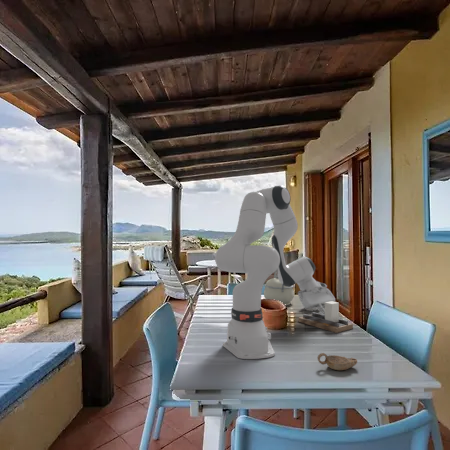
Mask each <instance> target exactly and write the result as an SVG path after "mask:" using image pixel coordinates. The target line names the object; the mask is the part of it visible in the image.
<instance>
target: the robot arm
mask: <svg viewBox="0 0 450 450" xmlns="http://www.w3.org/2000/svg"><path fill="white" fill-rule="evenodd" d="M267 214H269V216H270V220H271V223H272V226H273V234H272V236H271V245H272V247H271V246H268V245H258V244H255V245H253V244H252V243H254V242H256V241H258V240H260V239H261V238H262V237H263V236H264V234H265V227H266V221H267V220H266V219H267ZM297 230H298V220H297V217H296V214H295V213H294V211H293V208H292V206H291V194H290V192H289V190H288V188H286V187H285V186H284V185H274V187H273V186H272V187H267V188H263V189H259V190H257V191H251V192H248V193H247V194H245V196H244V198H243V201H242V203H241V206H240V209H239V215H238V222H237V226H236V230H235V232H234V234H233V236H232V237H231V238H229V240H228V241H227V242H226V243H225V244H223V245H221V246H220V247H219V248H218V249H217V251H216V252H215V256H214V261H215V265H216V267H217V268H218V269H219V271H223V272H228V273H237V274H238V273H239V274H240V273H241V274H247V277H246V279H245V280H243V281H241V282H239V283H237V284H236V285H235V286H234V287H233V289H232V307H231V311H230V313H231V315H230V316H231V320H230V321H229V322H228V323H227V331H226V332H227V333H226V340H225V341H224V342H223V343H222V346H223V348H225V349H226V350H227V351H229V352H230V353H231V354H233V355H234V356H235V357H236V358H238V359H241V360H242V359H244V360H258V359H259V360H260V359H266V358H272V357H274V356H276V352H275V350H274V348H273V346H272V343H271V341H270V340H271V339H272V334H271V332H267V331H268V327H267V326H265V321H264V320H263V310H262V308H261V307H262V305H261V304H262V293H263V292H262V291H263V287H264V285H265V282H267V280H268V278H269V277H270V276H271V275H272V274H274V272H275V271H276V270H277V273H276V275H277V274H278V279H279V281H280V283H281V284H282V285H284V286H287V287H291V286H292V285H293V286H294V285H296V284H297V286H298V288H299V291H298V292H297V295H298V297H299V301H300V302H301V304H302V306H303V308H304V309H305V310H306V309H310V308H315V307H317V308H318V309H317V310H319V311H320V312H322V314H323V315H325V302H330V301H333V302H336V298H335V296H334V294H333V293H332V291H331V290H330V289H329V288H327V287H328V285H327V284H326V283H323V282H320V281H318V280H316V279H315V278H314V277H313V275H314V274H315V271H316V265H315V263H314V262H313V260H312V259H311V258H309V257H307V256H302V257H299V258H297V259H296V260H295V259H294V260H293V261H291V262H290V263H287V262H286V259H285V253H284V249H285V246H286V245H287V243H288V242H289V241H290V240H291V239H292V238H293V237H294V236H295V235H296V233H297Z"/></svg>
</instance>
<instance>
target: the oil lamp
mask: <svg viewBox="0 0 450 450" xmlns="http://www.w3.org/2000/svg"><path fill="white" fill-rule="evenodd" d="M323 356H324V357H325V358H324V359H325V360H324V361H323V360H321V358H322V357H323ZM317 361H318V363H319V364H321V365H327V366H328V368H330V369H332V370H335V371H345V370H346V371H347V370H349V369H350V368H351V369H352V368H353V367H354V366H356V365H357V364H358V359H357V358H354V357H351V358H349V357H345V356H341V355H330V354H329V355H327V354H326V353H324V352H321V353H319V354H318V355H317Z"/></svg>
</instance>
